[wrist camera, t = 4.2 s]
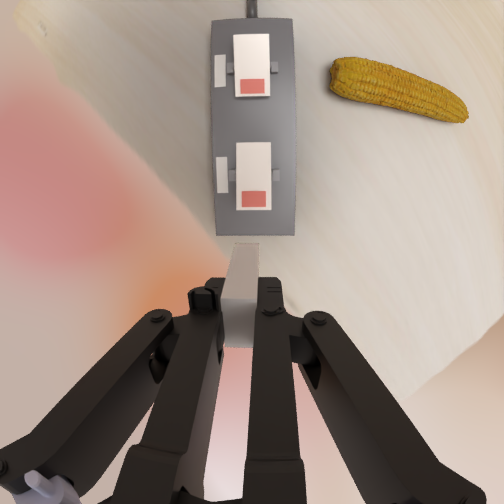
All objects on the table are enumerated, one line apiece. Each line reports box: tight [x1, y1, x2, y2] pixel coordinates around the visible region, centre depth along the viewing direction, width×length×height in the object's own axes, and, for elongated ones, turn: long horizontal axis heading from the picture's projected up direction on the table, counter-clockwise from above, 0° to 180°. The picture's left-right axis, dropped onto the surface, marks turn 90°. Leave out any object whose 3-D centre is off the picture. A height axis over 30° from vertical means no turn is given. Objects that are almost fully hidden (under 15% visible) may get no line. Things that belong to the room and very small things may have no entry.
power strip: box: [211, 0, 296, 236], centre depth 27 cm, size 32×9×5 cm, turn 1°
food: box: [329, 57, 469, 123], centre depth 24 cm, size 21×6×6 cm, turn 90°
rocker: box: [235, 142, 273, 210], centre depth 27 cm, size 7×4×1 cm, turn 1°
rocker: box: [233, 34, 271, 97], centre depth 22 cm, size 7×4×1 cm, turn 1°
